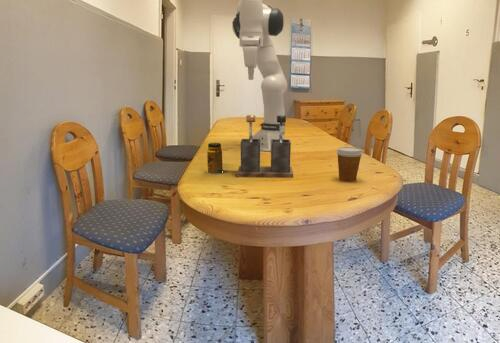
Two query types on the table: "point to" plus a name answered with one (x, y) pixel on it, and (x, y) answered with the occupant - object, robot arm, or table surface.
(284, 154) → the stand
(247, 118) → the plunger left
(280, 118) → the plunger right
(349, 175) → the disposable coffee cup
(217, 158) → the condiment
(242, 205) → the table surface
